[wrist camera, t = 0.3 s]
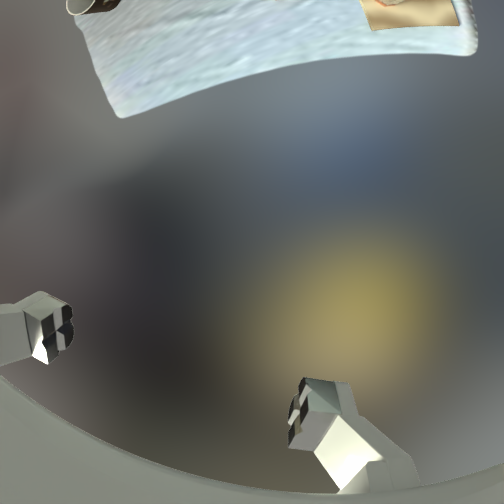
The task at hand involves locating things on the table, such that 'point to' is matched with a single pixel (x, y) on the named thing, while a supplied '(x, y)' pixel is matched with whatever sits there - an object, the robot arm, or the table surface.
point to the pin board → (409, 14)
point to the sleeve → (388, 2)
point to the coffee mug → (90, 6)
